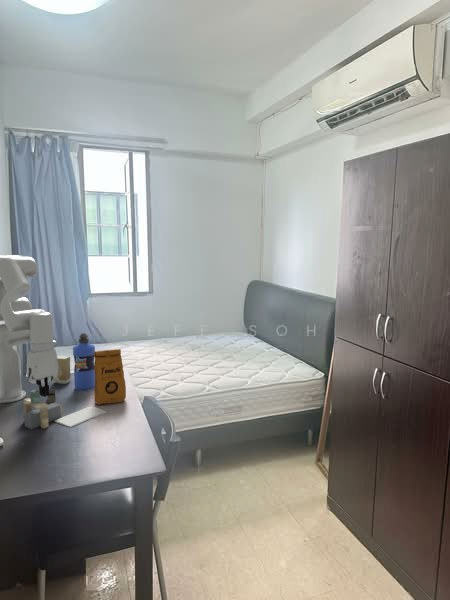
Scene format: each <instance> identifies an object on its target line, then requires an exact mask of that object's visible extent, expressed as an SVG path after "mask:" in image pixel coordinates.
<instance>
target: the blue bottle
mask: <svg viewBox="0 0 450 600" xmlns="http://www.w3.org/2000/svg"><path fill="white" fill-rule="evenodd" d="M88 337H89V335H88V334H86V333H81V334H80V335H79V336H78V344H77V345H74V346H73V347H72V356H73V359H74V368H73V376H74V390H75V391H77V392H88V391H91V390H94V387H95V372H94V366H95V364H94V363H95V357H94V352H95V350H96V346H95V345H94V344H91V343H90V341H89V340H90V339H89V338H88Z"/></svg>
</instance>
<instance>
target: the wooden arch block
mask: <svg viewBox="0 0 450 600" xmlns="http://www.w3.org/2000/svg"><path fill="white" fill-rule="evenodd" d="M29 394H30V395H29V396H30V397H25V398H22V401H23V414H24V413H27V412H29V411H32V407H33V408H35V409H40V419H41V425H40V428H41V429H43V430H44V429H47V428H49V422H48V404H45V402H41V400H40V399H41V398H40V397H41V396H40V393H39V389H38V390H37V389H33V390H30V391H29Z"/></svg>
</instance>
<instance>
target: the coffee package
mask: <svg viewBox="0 0 450 600" xmlns="http://www.w3.org/2000/svg"><path fill="white" fill-rule="evenodd" d="M121 351H122V349H121V348H118V349H109V350H108V349H107V350H96V351H95V352H94V372H95V387H94V389H93V391H94V393H93V394H94V397H93V399H94V402H95V404H97V405H106V404H117V403H123V402H125V399H126V398H127V394H126V393H127V390H126V389H127V387H126V385H127V384H126V380H125V371H124V366H123V361H122V353H121Z"/></svg>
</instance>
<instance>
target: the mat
mask: <svg viewBox="0 0 450 600" xmlns="http://www.w3.org/2000/svg"><path fill="white" fill-rule="evenodd" d="M105 413H107V412H106V410H103V409H100V408H97V407H94V406H88V407H85V408H83V409H80V410H77V411H75V412H72V413H70V414H67V415H65V416H61V417H60V418H58V419H55V420H54V422H55V423H57V424H60V425H63V426H65V427H67V428H72V427H75V426H78V425H80V424H82V423H84V422H87V421H89V420H92V419H95V418H96V417H99V416H101V415H103V414H105Z"/></svg>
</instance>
